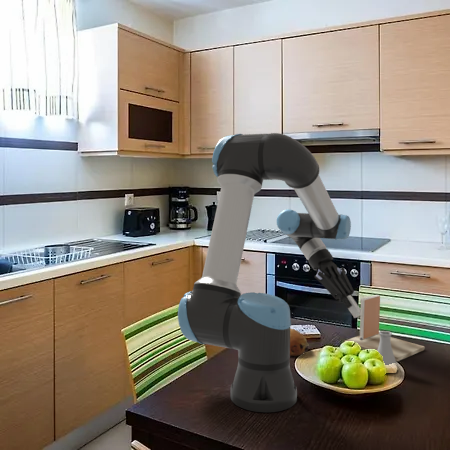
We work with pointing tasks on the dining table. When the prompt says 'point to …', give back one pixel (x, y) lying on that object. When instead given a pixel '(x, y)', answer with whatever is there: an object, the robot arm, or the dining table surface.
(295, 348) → the brown rounded lump
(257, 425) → the dining table surface
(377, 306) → the tile
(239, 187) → the robot arm
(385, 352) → the flask
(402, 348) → the board
